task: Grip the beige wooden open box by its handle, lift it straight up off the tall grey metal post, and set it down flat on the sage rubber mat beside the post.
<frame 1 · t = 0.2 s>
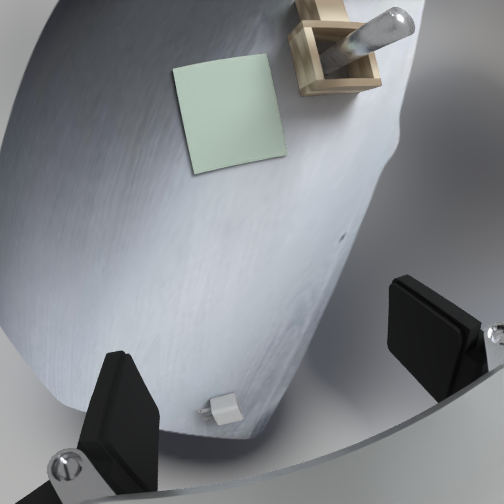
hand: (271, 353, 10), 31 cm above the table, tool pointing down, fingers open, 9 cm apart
post: (324, 64, 36), on the table
mat: (230, 110, 36), on the table
beige wooden open box: (324, 64, 36), on the table
usb wall charger: (218, 402, 49), on the table
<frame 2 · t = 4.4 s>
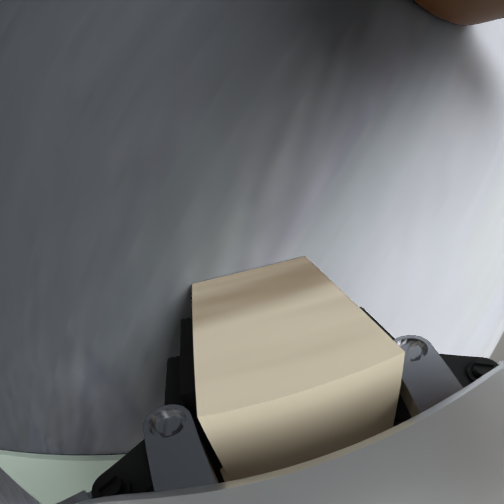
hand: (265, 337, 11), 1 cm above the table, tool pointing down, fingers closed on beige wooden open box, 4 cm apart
beige wooden open box: (287, 446, 14), on the table, touching gripper
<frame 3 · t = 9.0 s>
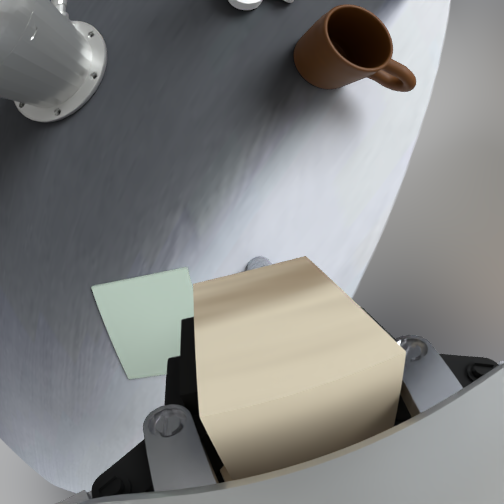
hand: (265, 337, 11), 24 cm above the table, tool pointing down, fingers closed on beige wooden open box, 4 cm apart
mat: (153, 328, 36), on the table
mug: (337, 71, 31), on the table
beige wooden open box: (287, 446, 14), point 23 cm above the table, touching gripper
when the fingers open (3 cm above the table, at t = 14.1 s): beige wooden open box drops 2 cm, resting on mat.
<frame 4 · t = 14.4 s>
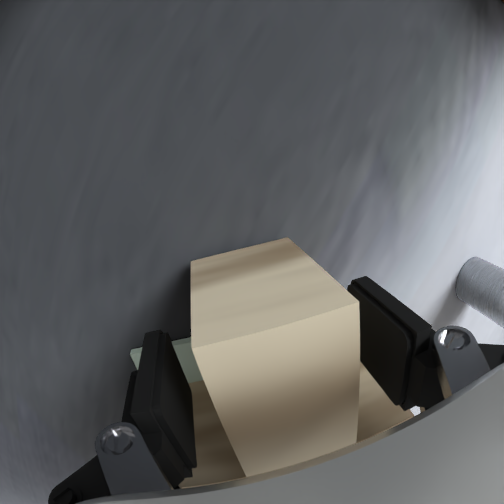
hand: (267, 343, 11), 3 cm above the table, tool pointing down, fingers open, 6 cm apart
post: (470, 278, 16), on the table
mat: (276, 417, 16), on the table
beige wooden open box: (278, 420, 16), resting on mat
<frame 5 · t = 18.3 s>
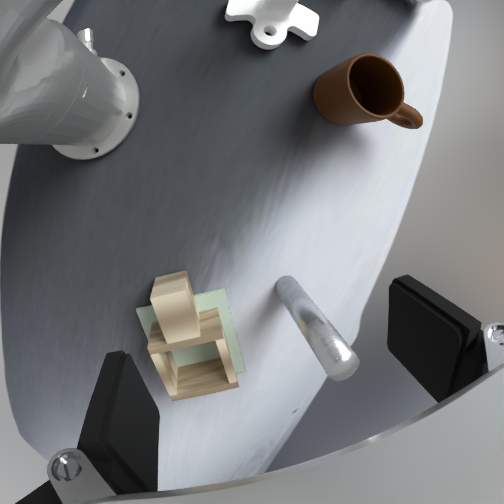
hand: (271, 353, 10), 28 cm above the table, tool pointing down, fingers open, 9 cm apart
post: (286, 286, 41), on the table
joystick: (268, 26, 31), on the table
mat: (193, 342, 41), on the table
mug: (351, 106, 36), on the table
beige wooden open box: (193, 342, 41), resting on mat
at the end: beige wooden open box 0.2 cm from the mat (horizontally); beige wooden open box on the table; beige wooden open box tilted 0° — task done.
